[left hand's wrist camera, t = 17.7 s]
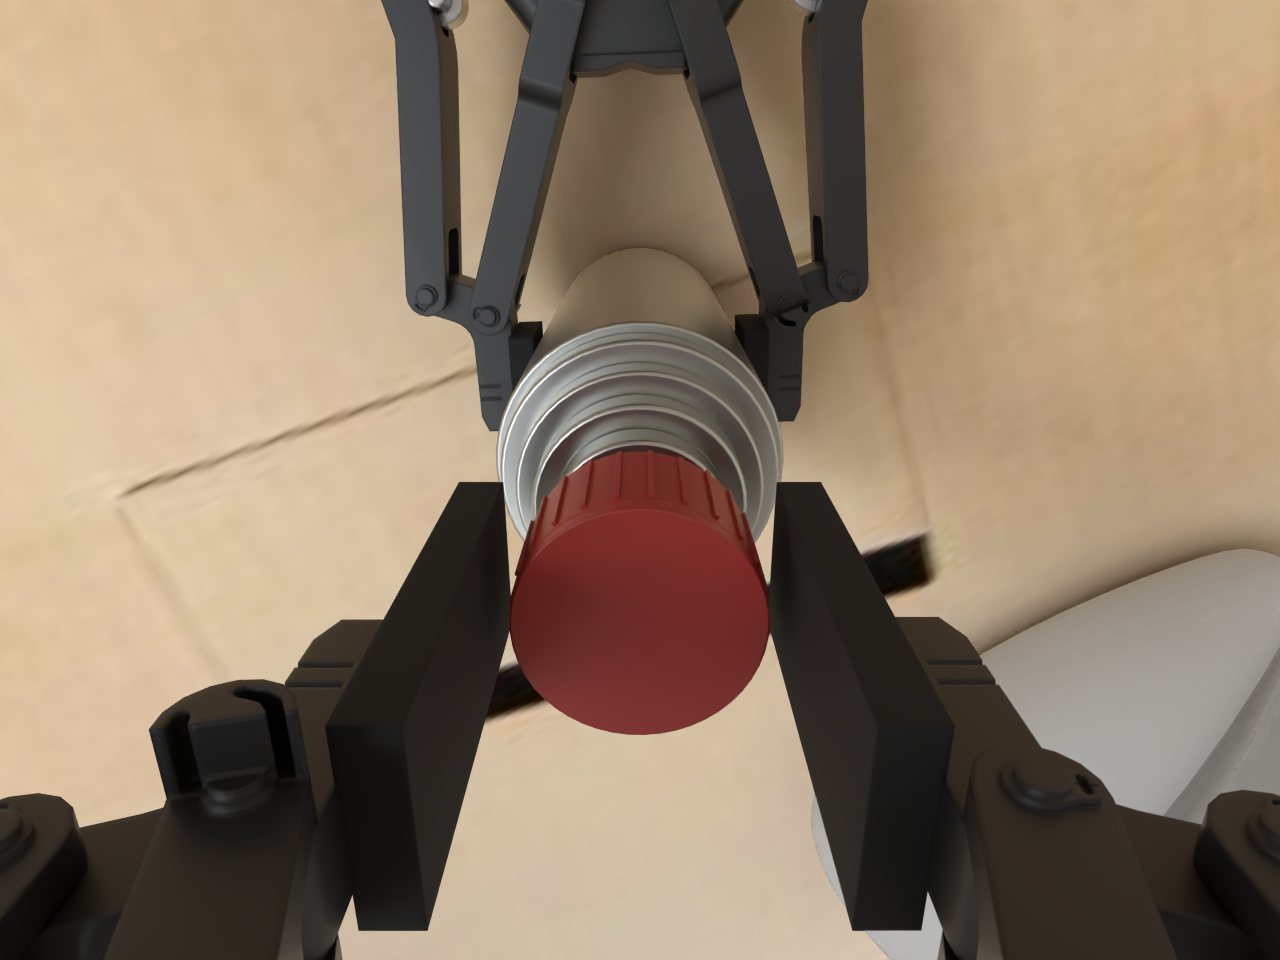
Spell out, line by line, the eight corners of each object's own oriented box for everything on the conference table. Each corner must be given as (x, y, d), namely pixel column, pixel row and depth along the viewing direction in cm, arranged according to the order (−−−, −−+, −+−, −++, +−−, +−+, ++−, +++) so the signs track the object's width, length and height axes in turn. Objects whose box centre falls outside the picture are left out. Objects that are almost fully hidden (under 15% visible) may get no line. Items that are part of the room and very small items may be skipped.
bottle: (755, 344, 33) (932, 637, 13) (628, 442, 34) (612, 841, 14) (652, 210, 31) (675, 312, 11) (523, 320, 33) (339, 583, 13)
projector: (1223, 918, 44) (1488, 1265, 30) (784, 922, 44) (850, 1269, 30) (1348, 533, 36) (1786, 768, 22) (811, 539, 36) (916, 777, 22)
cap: (549, 425, 14) (530, 480, 11) (779, 474, 14) (806, 536, 12) (509, 627, 15) (486, 712, 13) (720, 667, 16) (734, 758, 13)
